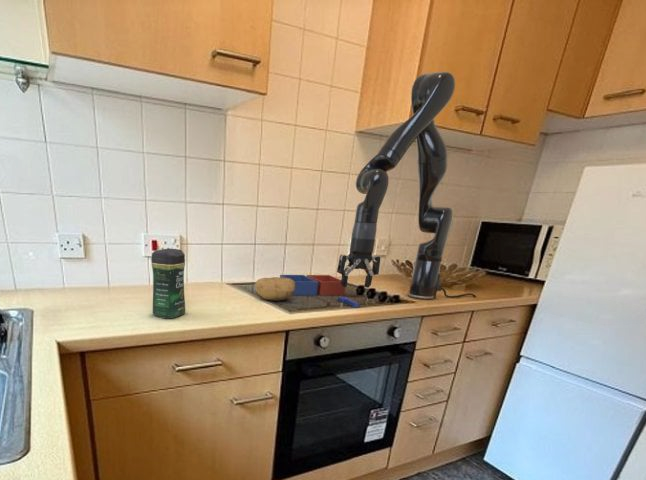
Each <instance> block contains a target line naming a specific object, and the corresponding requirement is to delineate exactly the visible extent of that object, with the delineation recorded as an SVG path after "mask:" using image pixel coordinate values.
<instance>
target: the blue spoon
mask: <svg viewBox="0 0 646 480" xmlns="http://www.w3.org/2000/svg"><path fill="white" fill-rule="evenodd" d="M337 301H338V302H339V303H344V304H347V305H349V306H350V307H353V308H359V305H360V303H359V302H357V301H355V300H353V299H351V298H350V297H348V296H338V299H337Z"/></svg>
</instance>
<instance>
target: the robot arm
mask: <svg viewBox="0 0 646 480" xmlns="http://www.w3.org/2000/svg"><path fill="white" fill-rule="evenodd" d="M455 89H456V79H455V76H454V74H453V73H451V72H449V71H439V72H438V71H437V72H428V73H423V74H419V75H418V76H417V77H416V78H415V80H414V81H413V84H412V87H411V92H410V102H411V110H412V115H411V116H410V117H409V118H408V119H407V120H405V121H404V122H402V123H401V124H400V125H399V126H398V127H397V128H395V129H394V131H392V132H391V133H390V134H389V136H388V137H387V139H386V140H385V142H383V145H382V146H381V147H380V149H379V150H378V152H377V154H375V155H374V156H373V157H372V158H371V159H370V160H369V161H367V163H366V164H365V166H363V168H361V170H360V172H359V173H358V175H357V177H356V180H355V188H356V190H357V192H358V193H359V194H363V195H365V197H364V200H363V201H361V202H359V203H358V204H357V206H356V209H355V215H354V222H353V227H352V230H351V237H350V244H349V254H347V255H346V254H340V255H339V259H338V264H337V269H336V273H338V274H340V275H341V279H340V280H341V285H342V286H343V287H345V288H347V287H348V279H349V275H350V274H351V273H352V272H353V271H354V270H364V272H365V274H366V275H365V281H364V288H368V289H369V288H370V287H371V285H372V281H373V277H374V276H378V275H379V273H380V266H381V256H379V255H374V256H373V252H374V249H375V242H376V237H377V228H378V227H377V225H378V219H379V212H380V208H381V206H382V204H383V201H384V199H385V196H386V194H387V191H388V188H389V184H390V183H389V182H390V181H389V175H388V172H389V171H392V170H393V169H395V168H396V167H397V166H398V164H399V163H400V161H401V160H402V158H403V157H404V156H405V154H406V153H407V151H408V150H409V148H410V147H411V146H412V145H413V143H414V142H415V141H416V162H417V163H416V164H417V165H416V167H417V178H418V179H417V180H418V213H417V219H418V220H417V225H418V229H419V231H421V232H422V233H426V234H434V236H433V237H432V238H431V239H430V240H428V241H427V240H426V241H424V242H420V243H419V244H418V245H417V249H416V250H417V251H416V256H415V261H414V266H413V271H412V276H411V281H410V285H409V289H408V293H407V296H408V297H410V298H414V299H419V300H433V299H436V298H437V293H438V292H441V291H442V292H443V295H444V296H445V297H446V298H450V299H451V298H460V297H465V296H472V297H473V298H477V296H476V294H474V293H469V292H468V293H461V294H458V295H448V294H447V291H446V289H445V288H443V283H440V279H441V276H442V274H441V273H440V269H441V264H442V260H443V257H444V256H443V255H444V253H445V248H446V246H447V243H448V238H449V235H450V231H451V228H452V224H453V219H454V211H453V209H452V208H451V207H448V206H447V207H446V206H433V198H434V194H435V191H436V190H437V188H438V187H439V185H440V183H442V180H443V179H444V178H445V176H446V173H447V171H448V148H447V144H446V142H445V140H444V138H443V137H442V135H441V133H440V131H439V129H438V128H437V125H436V123H435V119H436V117H437V116H438V115H439V114H440V113H441V112H442V111H443V110H444V109H445V107H447V105H448V104H449V102H451V100H452V98H453V95H454V93H455ZM347 262H348V263H347ZM371 262H372V266H371V264H370V263H371ZM346 263H347V264H346Z"/></svg>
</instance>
